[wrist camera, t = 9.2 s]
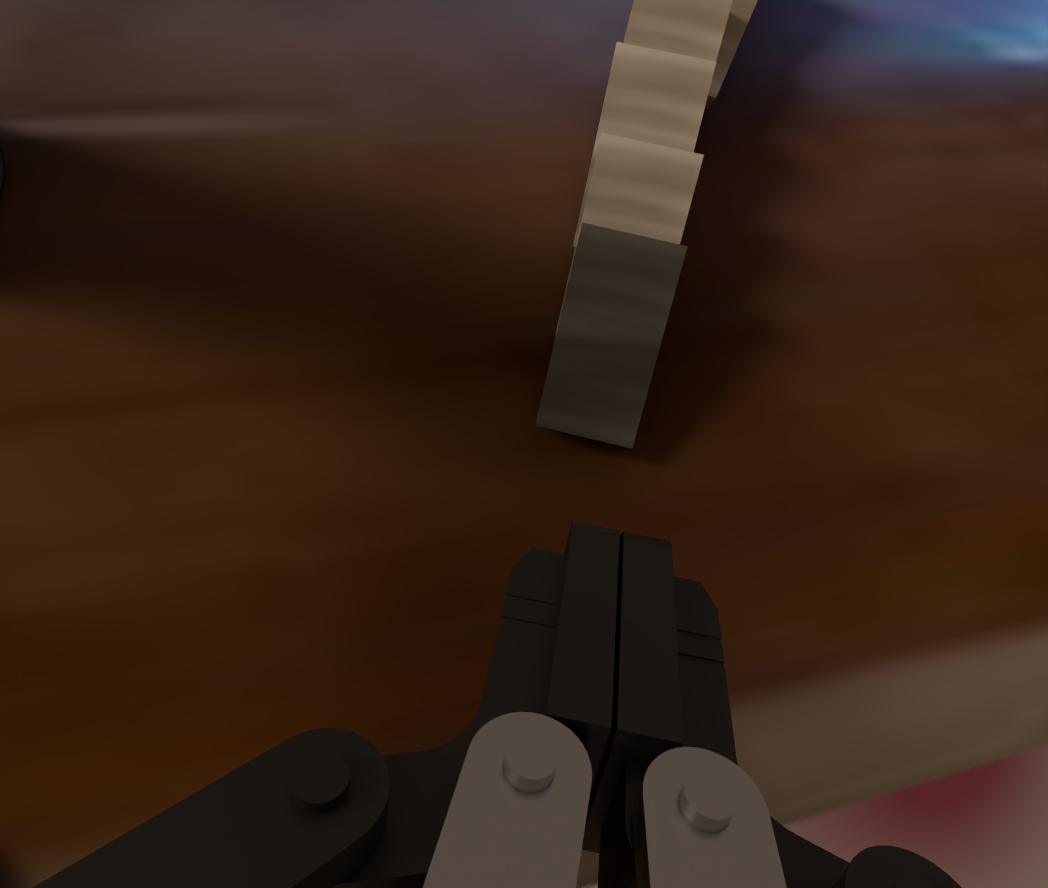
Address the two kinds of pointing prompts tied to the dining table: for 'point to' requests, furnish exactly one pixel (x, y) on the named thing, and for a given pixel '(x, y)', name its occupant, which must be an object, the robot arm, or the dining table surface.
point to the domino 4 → (609, 334)
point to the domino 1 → (679, 26)
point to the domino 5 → (730, 44)
